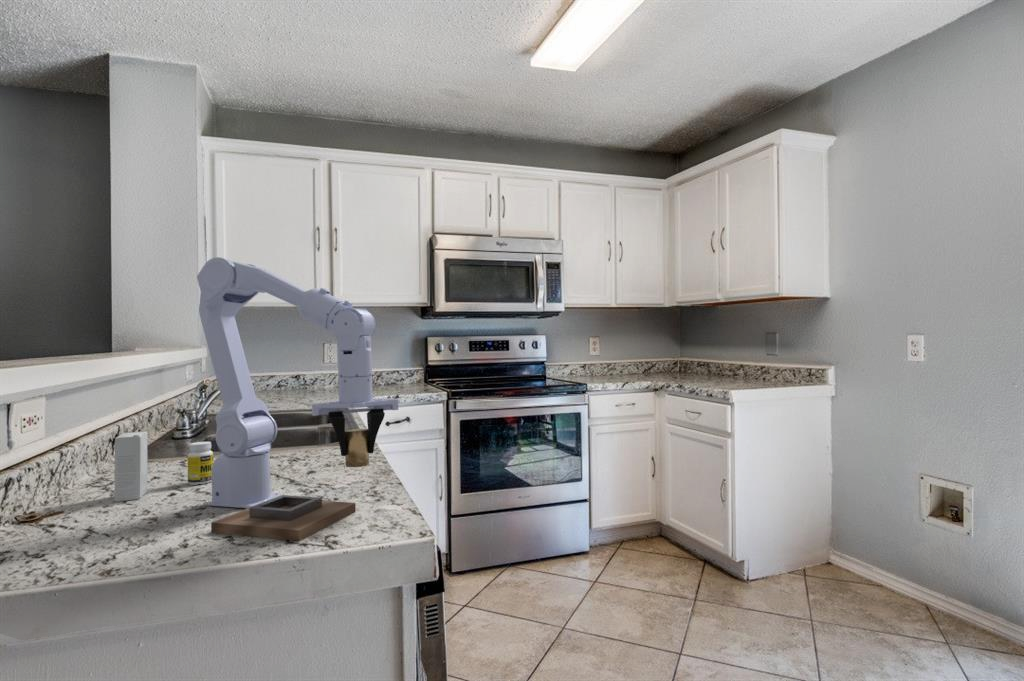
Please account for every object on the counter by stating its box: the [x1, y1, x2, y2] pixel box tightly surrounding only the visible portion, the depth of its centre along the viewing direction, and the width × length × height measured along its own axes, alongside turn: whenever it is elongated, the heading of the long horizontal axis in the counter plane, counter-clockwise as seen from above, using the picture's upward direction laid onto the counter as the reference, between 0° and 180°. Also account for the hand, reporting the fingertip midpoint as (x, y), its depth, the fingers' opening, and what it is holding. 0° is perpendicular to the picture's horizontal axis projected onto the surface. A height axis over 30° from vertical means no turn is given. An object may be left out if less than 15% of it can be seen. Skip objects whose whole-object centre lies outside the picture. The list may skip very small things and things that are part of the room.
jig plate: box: [210, 498, 356, 542], centre depth 87 cm, size 16×14×2 cm
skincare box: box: [114, 431, 148, 502], centre depth 105 cm, size 6×4×12 cm
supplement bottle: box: [187, 441, 214, 486], centre depth 116 cm, size 5×5×8 cm
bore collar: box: [249, 494, 323, 521], centre depth 87 cm, size 8×8×2 cm
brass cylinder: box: [344, 428, 370, 468], centre depth 96 cm, size 4×4×6 cm
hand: (357, 453), depth 96 cm, fingers closed on brass cylinder, 4 cm apart
